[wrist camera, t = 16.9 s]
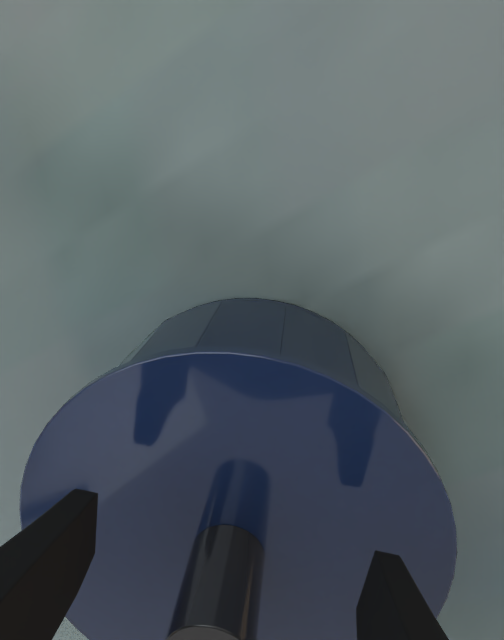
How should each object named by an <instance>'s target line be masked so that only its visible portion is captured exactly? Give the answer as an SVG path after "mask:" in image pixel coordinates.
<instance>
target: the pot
mask: <svg viewBox="0 0 504 640" xmlns="http://www.w3.org/2000/svg"><path fill="white" fill-rule="evenodd" d="M196 346H236V347H244V348H252V349H261V350H267V351H271V352H275V353H279V354H283V355H287V356H291V357H295V358H298V359H301V360H303V361H306V362H309V363H311V364H314V365H317V366H319V367H322V368H324V369H327V370H329V371H331V372H333V373H335V374H337V375H339V376H341V377H342V378H344V379H346V380H348V381H350V382H352V383H354V384H356V385H357V386H359V387H360V388H362V389H363V390H364V391H366V392H367V393H369V394H370V395H371V396H373V397H374V398H376V399H377V400H379V401H380V402H381V403H383V404H384V405H385V406H386V407H387V408H388V409H389V410H390V411H391V412H392V413H394V414H395V415H396V416H397V417H398V418H399V419H400V420H401V421H402V422H403V423H404V421H403V418H402V416H401V413H400V410H399V408H398V405H397V403H396V400H395V397H394V395H393V392H392V389H391V387H390V384H389V382H388V379H387V376H386V375H385V373H384V372H383V371H382V370H381V369H380V367H379V366H378V365H377V364H376V362H375V361H374V360H373V358H372V357H371V356H370V355H369V353H368V352H367V351H366V350H365V348H364V347H363V346H362V345H361V344H359V343H358V342H357V341H356V340H355V339H354V338H353V337H352V336H351V335H350V334H349V333H347V332H346V331H345V330H343V329H342V328H340V327H339V326H337V325H336V324H335V323H333V322H331V321H329V320H328V319H326V318H324V317H322V316H320V315H318V314H316V313H314V312H312V311H309V310H306V309H304V308H301V307H299V306H296V305H292V304H288V303H284V302H280V301H275V300H266V299H258V298H235V299H228V300H221V301H214V302H211V303H207V304H203V305H200V306H196V307H194V308H192V309H189V310H187V311H185V312H182V313H180V314H178V315H176V316H175V317H172V318H170V319H167V320H166V321H164V322H163V323H162V324H161V325H160V326H159V327H158V328H157V329H156V330H154V331H153V332H152V333H151V334H150V335H149V336H148V337H147V338H146V339H145V340H144V341H143V342H142V343H141V344H140V345H139V346H138V347H137V348H135V349H134V350H133V351H132V352H131V353H130V354H129V355H128V356H127V357H126V358H125V359H124V360H123V362H122V363H121V364H120V365H123V364H125V363H127V362H130V361H132V360H135V359H137V358H140V357H143V356H147V355H151V354H155V353H159V352H163V351H166V350H172V349H180V348H188V347H196ZM120 365H119V366H120ZM404 424H405V423H404Z"/></svg>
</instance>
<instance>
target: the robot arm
mask: <svg viewBox="0 0 504 640" xmlns="http://www.w3.org/2000/svg"><path fill="white" fill-rule="evenodd" d="M97 507H98V493H95V492H90V491H86V490H81V489H74V490H72V491H71V492H70V493H68V494H67V495H66V496H65V497H63V498H62V499H61V500H60V501H59V502H57V503H56V504H55V505H54V506H52V507H51V508H50V509H49V510H47V511H46V512H45V513H44V514H42V515H41V516H40V517H39V518H37V519H36V520H35V521H34V522H32V523H31V524H30V525H29V526H27V527H26V528H25V529H23V530H22V531H21V532H19V533H18V534H17V535H15V536H14V537H13V538H11V539H10V540H9V541H8V542H6V543H5V544H4V545H2V546H1V547H0V640H52V638H53V637H54V635H55V633H56V631H57V630H58V628H59V626H60V624H61V622H62V621H63V619H64V617H65V615H66V614H67V612H68V610H69V608H70V606H71V605H72V603H73V601H74V599H75V597H76V596H77V594H78V591H79V589H80V587H81V585H82V582H83V580H84V578H85V576H86V573H87V571H88V569H89V566H90V564H91V562H92V559H93V557H94V555H95V545H96V526H97ZM356 624H357V640H449V639H448V638H447V636H446V634H445V633H444V631H443V630H442V628H441V626H440V625H439V623H438V621H437V620H436V618H435V616H434V615H433V613H432V611H431V610H430V608H429V606H428V604H427V603H426V601H425V599H424V597H423V596H422V594H421V592H420V590H419V589H418V587H417V585H416V583H415V582H414V580H413V578H412V576H411V574H410V573H409V571H408V569H407V567H406V566H405V564H404V562H403V560H402V559H401V557H400V556H399V555H395V554H391V553H386V552H381V551H376V550H375V552H374V555H373V558H372V561H371V564H370V567H369V570H368V573H367V577H366V580H365V583H364V586H363V589H362V592H361V595H360V598H359V601H358V604H357V607H356Z"/></svg>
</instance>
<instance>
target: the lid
mask: <svg viewBox="0 0 504 640" xmlns="http://www.w3.org/2000/svg"><path fill="white" fill-rule="evenodd" d="M74 489H81V490H86V491H90V492H95V493H98V507H97V526H96V545H95V555H94V557H93V559H92V562H91V564H90V566H89V569H88V571H87V573H86V576H85V578H84V580H83V582H82V585H81V587H80V589H79V591H78V594H77V596H76V597H75V599H74V601H73V603H72V605H71V606H70V608H69V610H68V612H67V614H66V615H65V617H66V618H67V619H68V620H69V621H70V622H71V623H72V624H73V625H74V626H75V628H76V629H78V630H79V631H80V632H81V633H82V634H83V635H84V636H86V637H87V638H88V639H89V640H357V624H356V607H357V604H358V601H359V598H360V595H361V592H362V589H363V586H364V583H365V580H366V577H367V573H368V570H369V567H370V564H371V561H372V558H373V555H374V552H375V550H376V551H381V552H386V553H391V554H395V555H399V556H400V557H401V559H402V560H403V562H404V564H405V566H406V567H407V569H408V571H409V573H410V574H411V576H412V578H413V580H414V582H415V583H416V585H417V587H418V589H419V590H420V592H421V594H422V596H423V597H424V599H425V601H426V603H427V604H428V606H429V608H430V610H431V611H432V613H433V615H434V616H435V618H436V619H437V617H438V615H439V613H440V611H441V609H442V607H443V605H444V603H445V601H446V599H447V597H448V593H449V590H450V587H451V584H452V581H453V578H454V572H455V564H456V556H457V539H456V525H455V521H454V516H453V512H452V507H451V503H450V500H449V498H448V495H447V493H446V490H445V488H444V485H443V483H442V480H441V478H440V476H439V473H438V471H437V469H436V467H435V466H434V464H433V462H432V461H431V459H430V457H429V456H428V454H427V452H426V450H425V449H424V447H423V446H422V444H421V443H420V442H419V441H418V440H417V438H416V437H415V436H414V435H413V433H412V432H411V431H410V430H409V429H408V427H407V426H406V425H405V424H404V423H403V422H402V421H401V420H400V419H399V418H398V417H397V416H396V415H395V414H394V413H392V412H391V411H390V410H389V409H388V408H387V407H386V406H385V405H384V404H383V403H381V402H380V401H379V400H377V399H376V398H374V397H373V396H371V395H370V394H369V393H367V392H366V391H364V390H363V389H362V388H360V387H359V386H357V385H356V384H354V383H352V382H350V381H348V380H346V379H344V378H342V377H341V376H339V375H337V374H335V373H333V372H331V371H329V370H327V369H324V368H322V367H319V366H317V365H314V364H311V363H309V362H306V361H303V360H301V359H298V358H295V357H291V356H287V355H283V354H279V353H275V352H271V351H267V350H261V349H252V348H244V347H236V346H196V347H188V348H180V349H172V350H166V351H163V352H159V353H155V354H151V355H147V356H143V357H140V358H137V359H135V360H132V361H130V362H127V363H125V364H123V365H120V366H118V367H115V368H113V369H111V370H110V371H108V372H106V373H104V374H103V375H101V376H99V377H98V378H96V379H94V380H93V381H91V382H89V383H88V384H87V385H86V386H85V387H83V388H82V389H81V390H80V391H78V392H77V393H76V394H75V395H74V396H72V397H71V398H70V399H69V400H68V401H67V402H66V403H65V404H64V405H63V406H62V407H61V408H60V410H59V411H58V412H57V413H56V414H55V415H54V416H53V417H52V419H51V420H50V421H49V422H48V423H47V425H46V426H45V428H44V429H43V431H42V433H41V434H40V436H39V437H38V439H37V440H36V442H35V444H34V446H33V449H32V451H31V453H30V456H29V458H28V461H27V463H26V466H25V471H24V475H23V480H22V484H21V491H20V509H19V510H20V520H21V529H22V530H23V529H25V528H26V527H27V526H29V525H30V524H31V523H32V522H34V521H35V520H36V519H37V518H39V517H40V516H41V515H42V514H44V513H45V512H46V511H47V510H49V509H50V508H51V507H52V506H54V505H55V504H56V503H57V502H59V501H60V500H61V499H62V498H63V497H65V496H66V495H67V494H68V493H70V492H71V491H72V490H74Z"/></svg>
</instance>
